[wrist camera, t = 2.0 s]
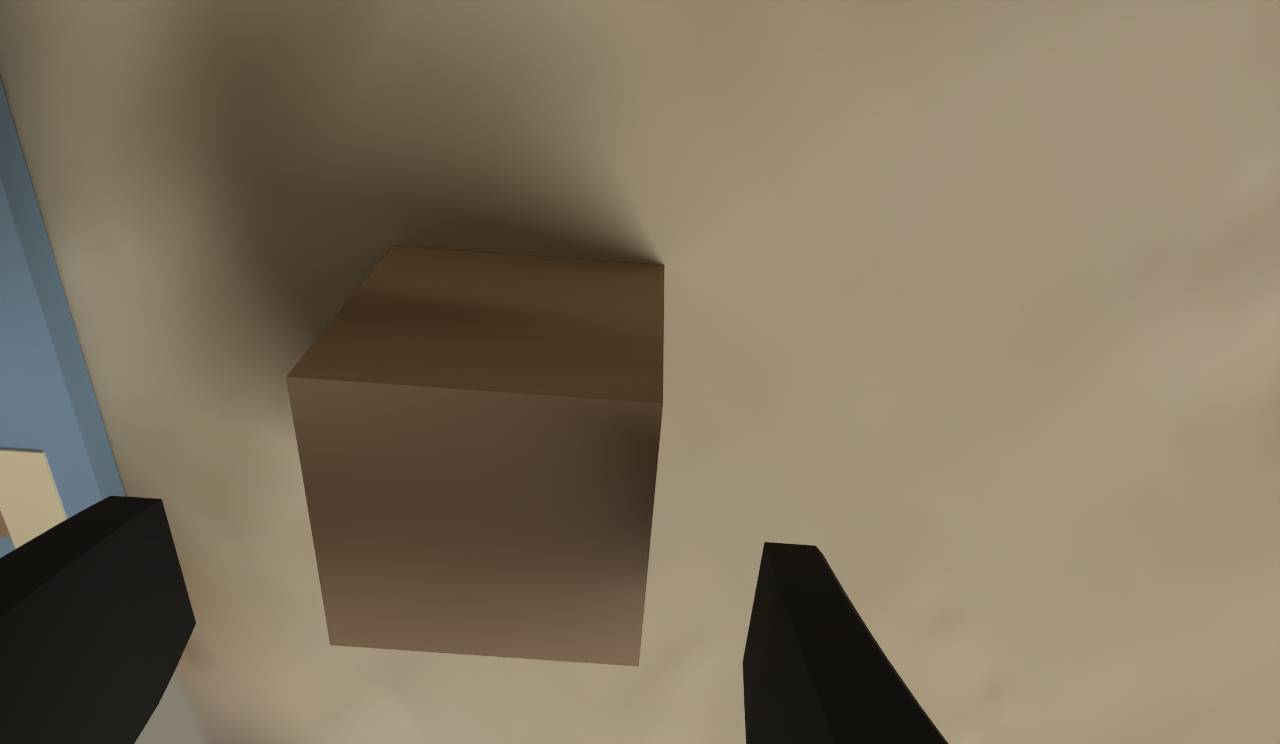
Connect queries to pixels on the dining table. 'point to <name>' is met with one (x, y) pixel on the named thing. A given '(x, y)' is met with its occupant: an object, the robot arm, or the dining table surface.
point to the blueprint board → (41, 374)
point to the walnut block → (486, 454)
